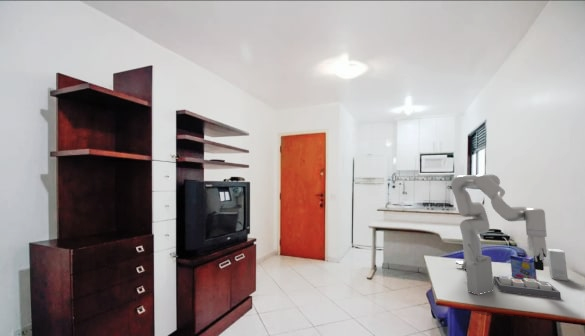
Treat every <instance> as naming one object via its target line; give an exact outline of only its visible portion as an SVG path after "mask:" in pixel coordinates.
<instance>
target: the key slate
mask: <svg viewBox="0 0 585 336" xmlns="http://www.w3.org/2000/svg"><path fill="white" fill-rule="evenodd" d="M498 277H499V282H500V283H501V284H504V285H511V279H510V278H511V277H509V275H498Z"/></svg>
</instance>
